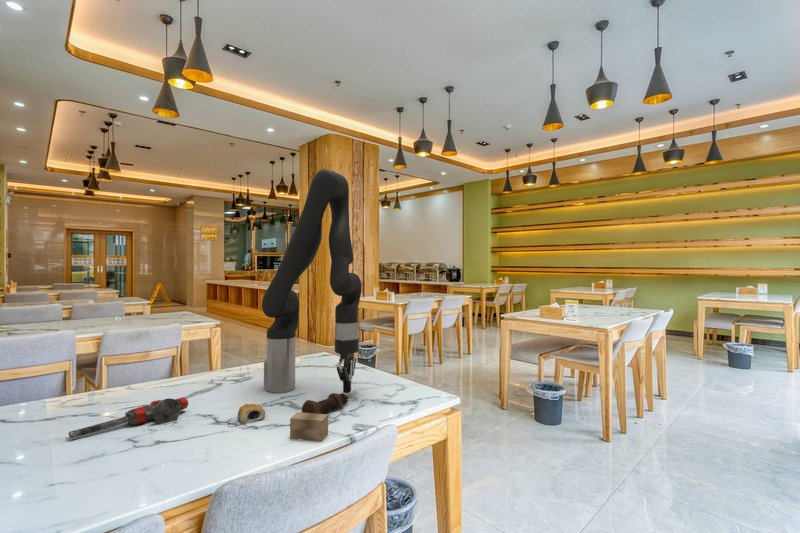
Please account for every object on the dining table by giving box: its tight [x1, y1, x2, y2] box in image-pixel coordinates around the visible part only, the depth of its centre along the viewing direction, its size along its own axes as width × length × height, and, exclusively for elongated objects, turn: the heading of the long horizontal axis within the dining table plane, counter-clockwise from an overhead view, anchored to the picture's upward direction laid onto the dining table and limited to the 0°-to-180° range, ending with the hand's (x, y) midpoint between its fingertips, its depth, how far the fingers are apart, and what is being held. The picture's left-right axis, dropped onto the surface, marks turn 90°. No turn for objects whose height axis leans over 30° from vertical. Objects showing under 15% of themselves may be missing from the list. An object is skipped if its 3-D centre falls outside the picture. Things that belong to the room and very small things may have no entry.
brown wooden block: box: [289, 411, 329, 443], centre depth 95 cm, size 8×4×5 cm, turn 80°
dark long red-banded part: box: [68, 397, 189, 440], centre depth 104 cm, size 6×26×15 cm
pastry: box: [237, 403, 266, 424], centre depth 108 cm, size 9×7×4 cm
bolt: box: [301, 392, 349, 414], centre depth 111 cm, size 6×5×15 cm
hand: (347, 392), depth 123 cm, fingers closed
